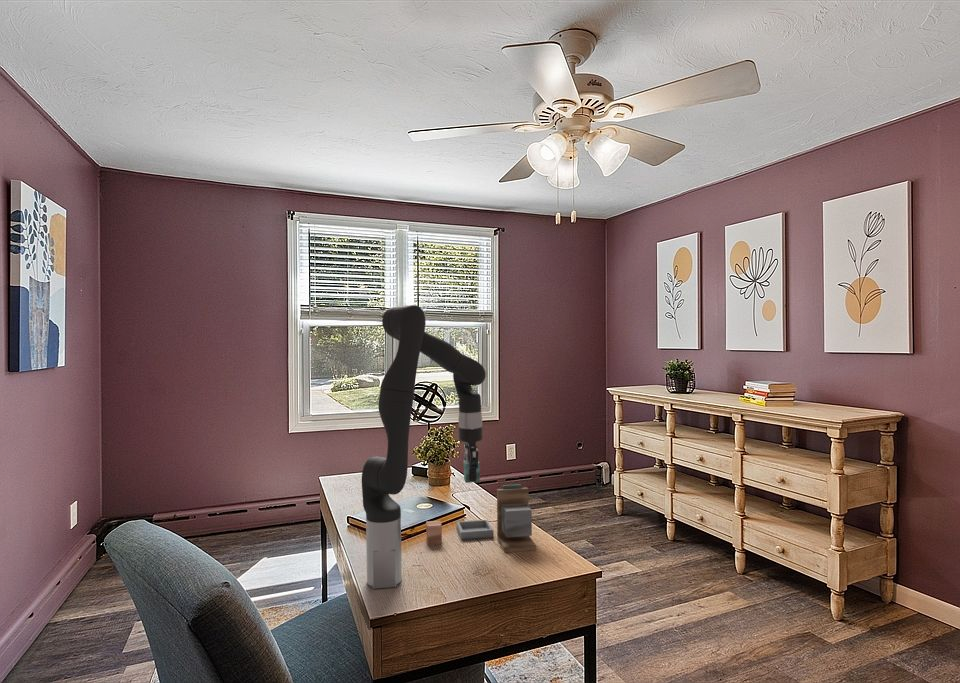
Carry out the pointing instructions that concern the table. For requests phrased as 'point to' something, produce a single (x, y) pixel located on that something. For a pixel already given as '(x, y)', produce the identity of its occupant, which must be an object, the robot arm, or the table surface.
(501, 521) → the mounted unit
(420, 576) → the table surface
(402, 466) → the robot arm
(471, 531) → the tray
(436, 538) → the terracotta block
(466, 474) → the teal block
